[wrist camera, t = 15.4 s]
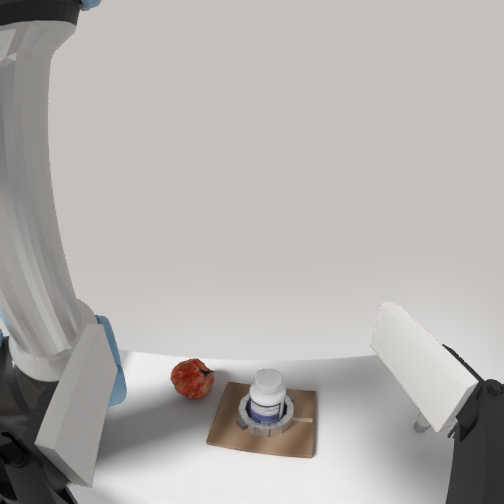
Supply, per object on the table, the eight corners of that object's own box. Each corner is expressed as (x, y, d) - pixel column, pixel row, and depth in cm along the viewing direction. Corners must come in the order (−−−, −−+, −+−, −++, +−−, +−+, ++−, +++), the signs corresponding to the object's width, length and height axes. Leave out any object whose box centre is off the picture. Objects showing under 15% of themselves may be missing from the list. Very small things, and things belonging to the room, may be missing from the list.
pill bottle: (260, 400, 44) (263, 360, 40) (288, 413, 41) (294, 373, 38) (242, 420, 40) (241, 380, 36) (270, 434, 37) (275, 396, 33)
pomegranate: (174, 409, 44) (210, 403, 40) (151, 377, 45) (184, 367, 40) (196, 388, 51) (232, 379, 46) (175, 358, 51) (209, 345, 47)
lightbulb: (401, 417, 38) (424, 374, 34) (430, 415, 36) (455, 373, 33) (405, 444, 32) (433, 402, 28) (435, 441, 31) (466, 399, 27)
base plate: (206, 443, 36) (206, 440, 35) (228, 385, 49) (228, 381, 48) (311, 458, 33) (312, 454, 32) (314, 394, 46) (315, 390, 45)
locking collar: (234, 432, 37) (233, 424, 36) (245, 395, 45) (245, 386, 44) (289, 439, 36) (290, 431, 35) (293, 400, 44) (295, 391, 43)
